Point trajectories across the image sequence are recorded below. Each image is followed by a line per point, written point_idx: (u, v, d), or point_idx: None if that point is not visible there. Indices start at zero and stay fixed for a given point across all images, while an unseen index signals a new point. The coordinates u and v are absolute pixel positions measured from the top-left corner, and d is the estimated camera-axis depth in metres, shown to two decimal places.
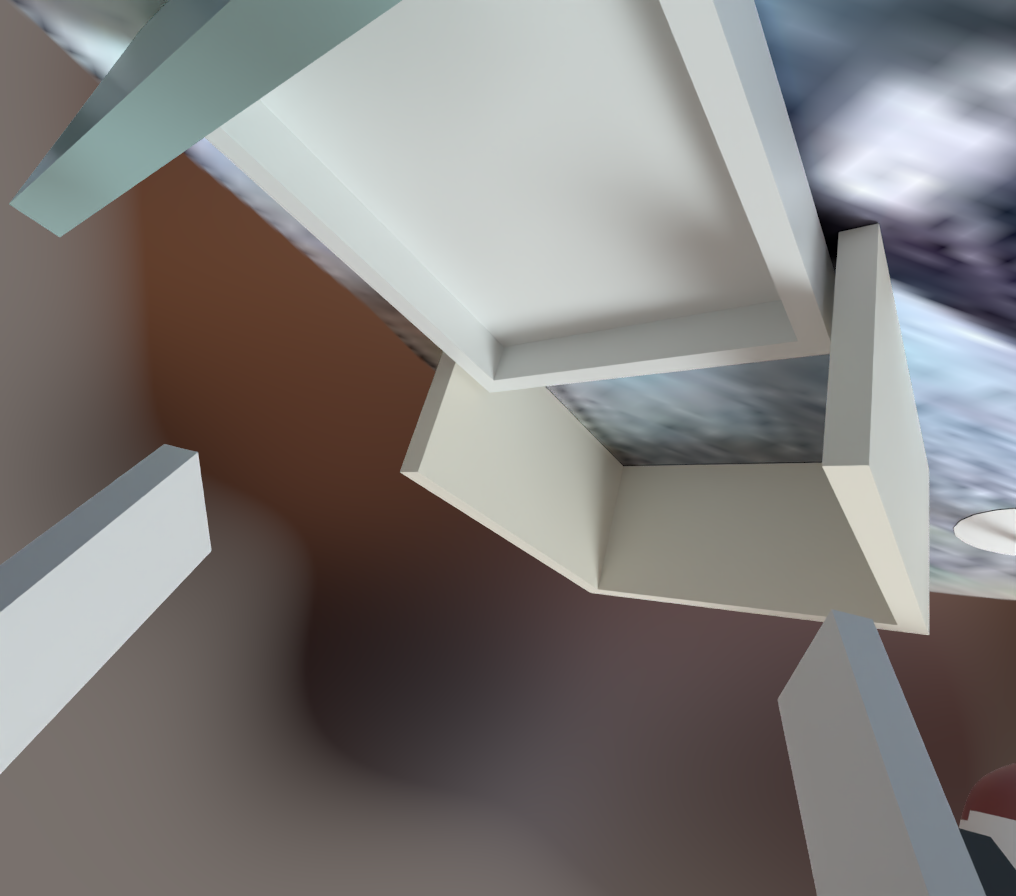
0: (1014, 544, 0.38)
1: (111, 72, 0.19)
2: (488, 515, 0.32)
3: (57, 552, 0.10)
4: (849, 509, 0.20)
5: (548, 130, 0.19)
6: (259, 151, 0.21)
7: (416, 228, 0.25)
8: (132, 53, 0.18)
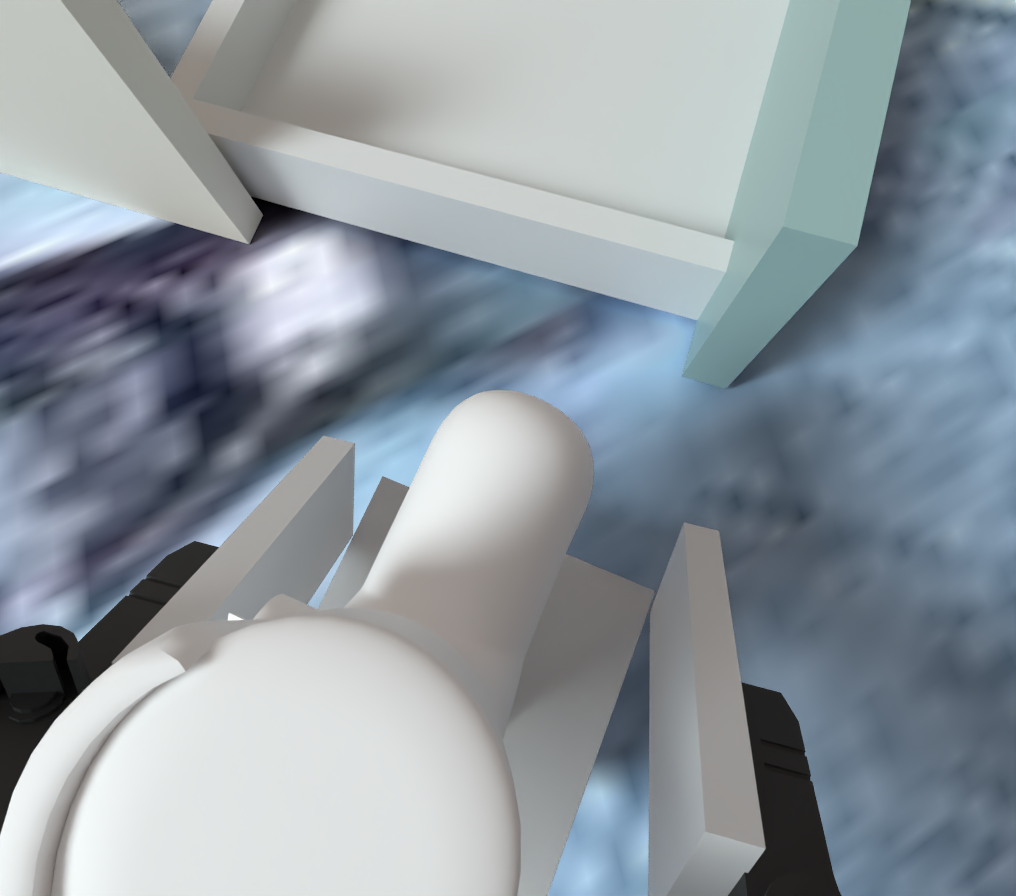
0: None
1: None
2: None
3: (267, 531, 0.11)
4: None
5: (547, 89, 0.21)
6: None
7: None
8: None
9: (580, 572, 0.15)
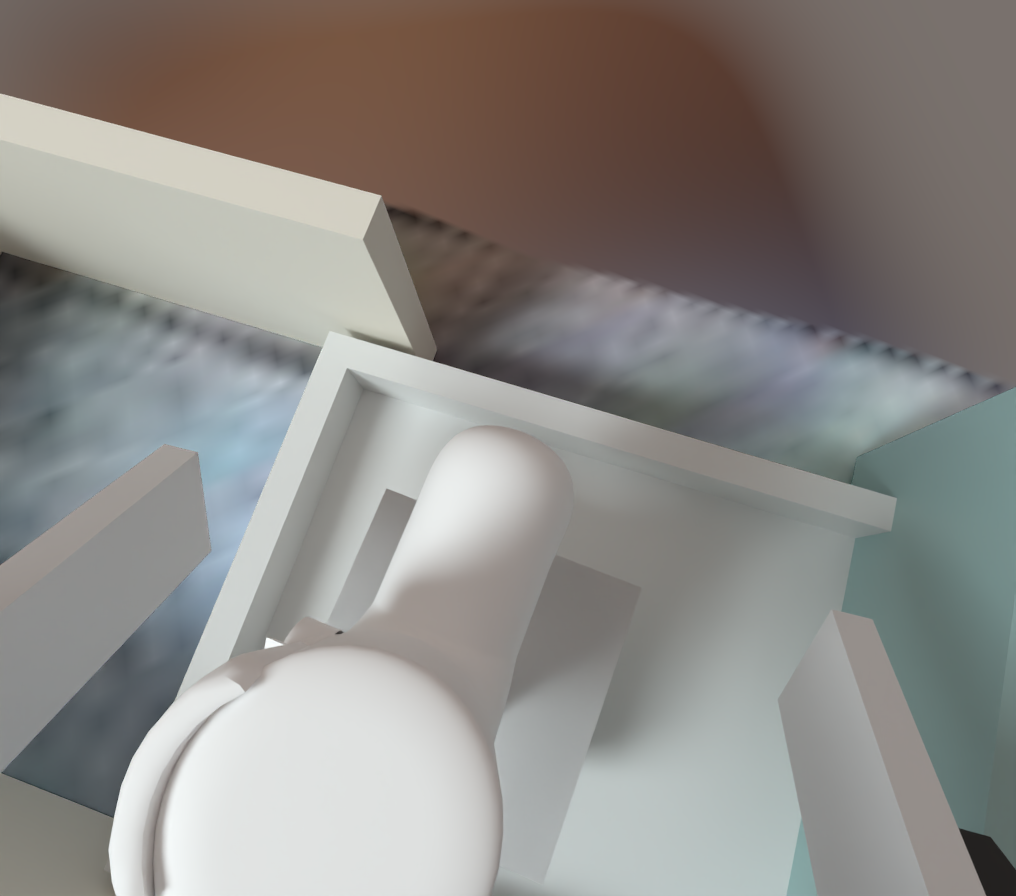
0: None
1: None
2: (149, 183, 0.15)
3: (57, 552, 0.10)
4: None
5: None
6: (789, 504, 0.18)
7: (579, 495, 0.20)
8: None
9: (572, 572, 0.16)
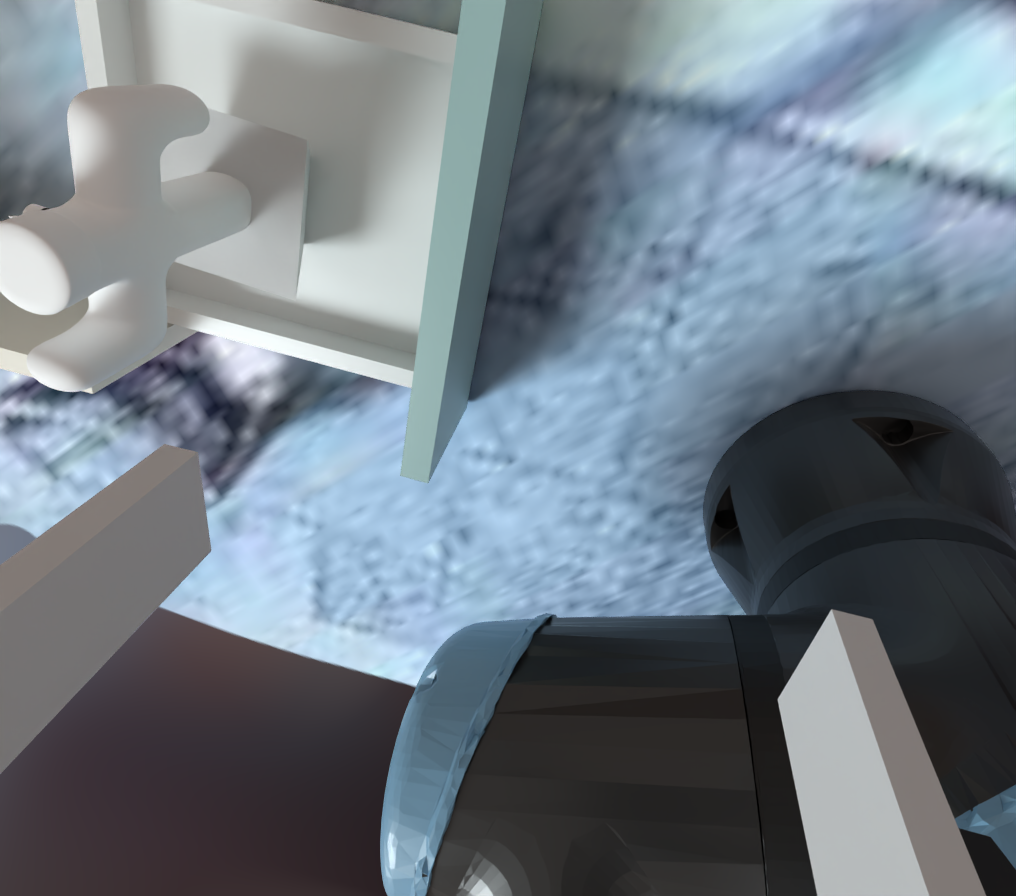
0: None
1: (528, 22, 0.24)
2: None
3: (57, 552, 0.10)
4: (25, 357, 0.29)
5: (329, 236, 0.32)
6: None
7: (300, 59, 0.28)
8: (516, 82, 0.25)
9: (266, 134, 0.26)
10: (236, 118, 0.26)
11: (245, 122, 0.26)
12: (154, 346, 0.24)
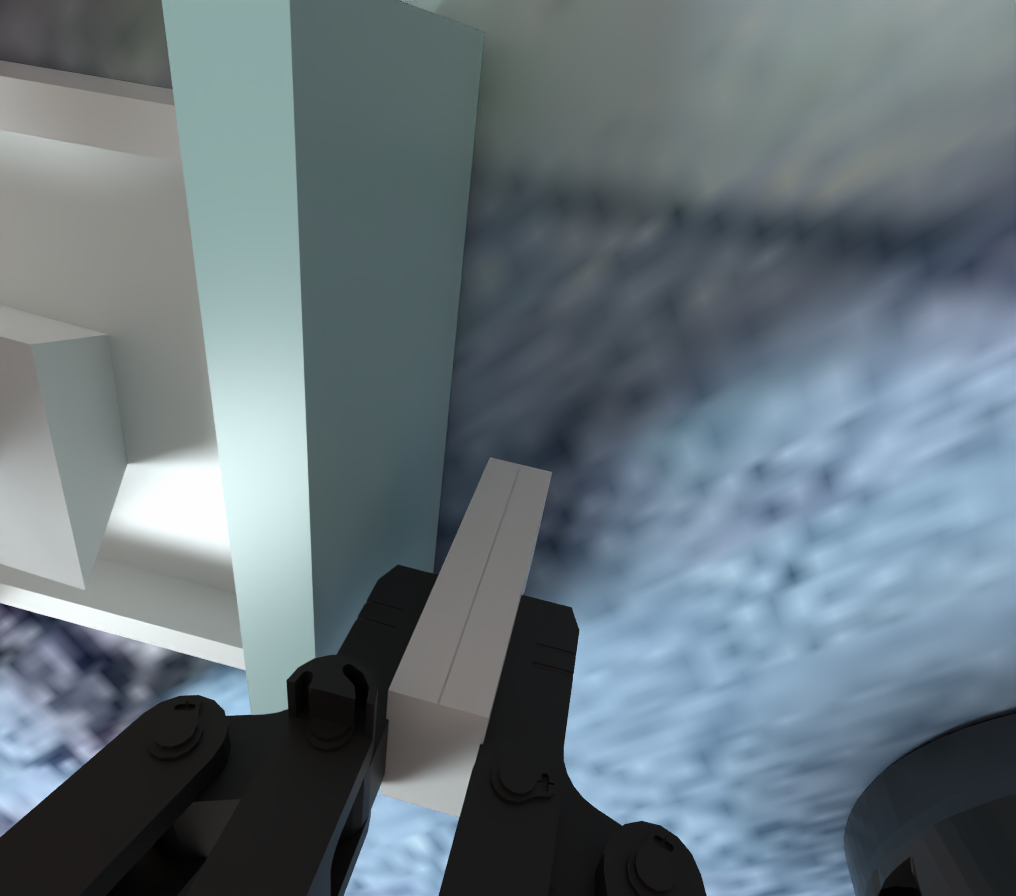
0: None
1: (439, 89, 0.11)
2: None
3: (477, 555, 0.11)
4: None
5: (164, 453, 0.19)
6: None
7: (55, 179, 0.15)
8: (424, 214, 0.12)
9: None
10: None
11: None
12: None
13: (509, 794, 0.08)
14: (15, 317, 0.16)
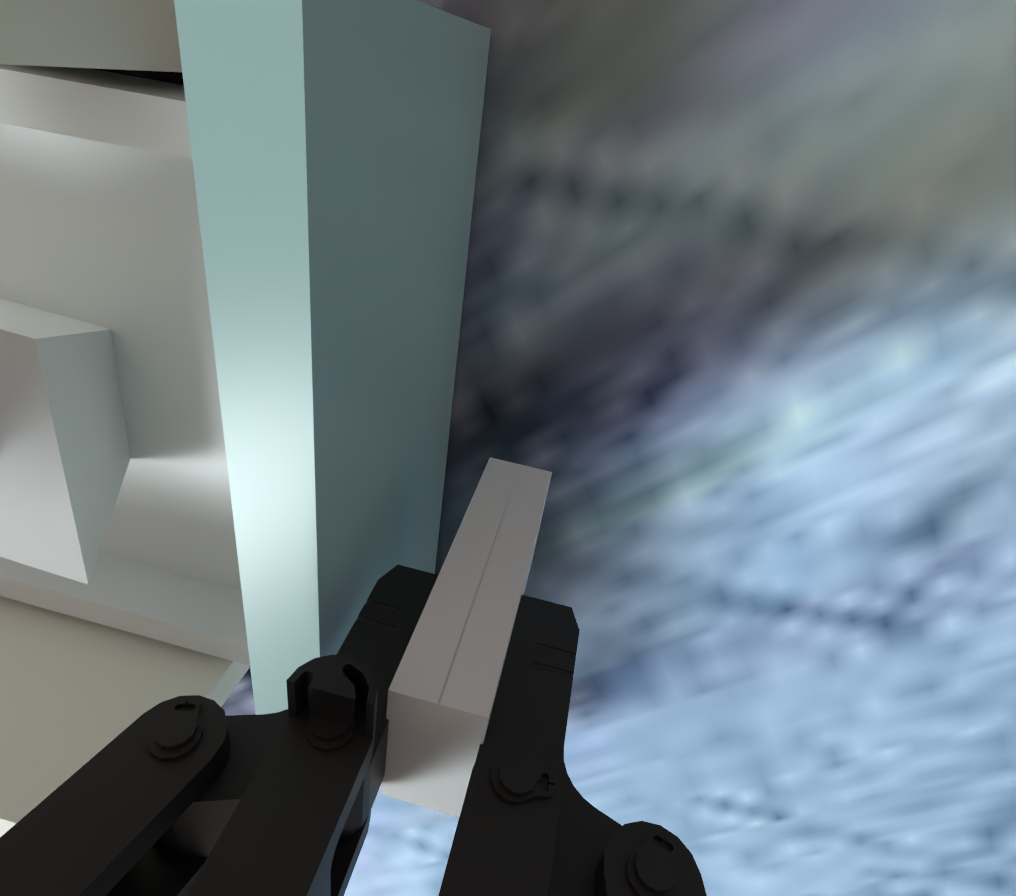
0: None
1: (446, 86, 0.11)
2: None
3: (477, 555, 0.11)
4: None
5: (167, 448, 0.19)
6: None
7: (60, 174, 0.15)
8: (431, 211, 0.12)
9: None
10: None
11: None
12: None
13: (509, 794, 0.08)
14: (19, 311, 0.16)
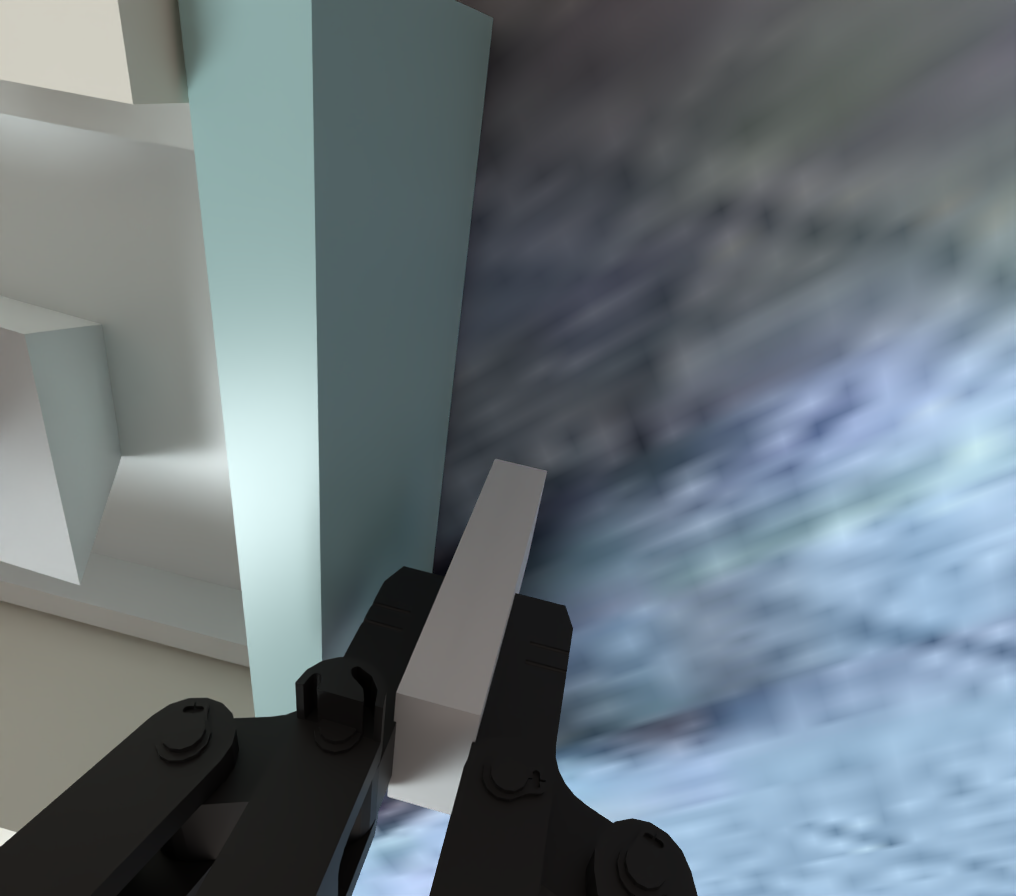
0: None
1: (450, 75, 0.11)
2: None
3: (483, 557, 0.11)
4: None
5: (159, 445, 0.18)
6: None
7: (48, 164, 0.15)
8: (433, 203, 0.11)
9: None
10: None
11: None
12: None
13: (500, 792, 0.08)
14: (6, 306, 0.15)
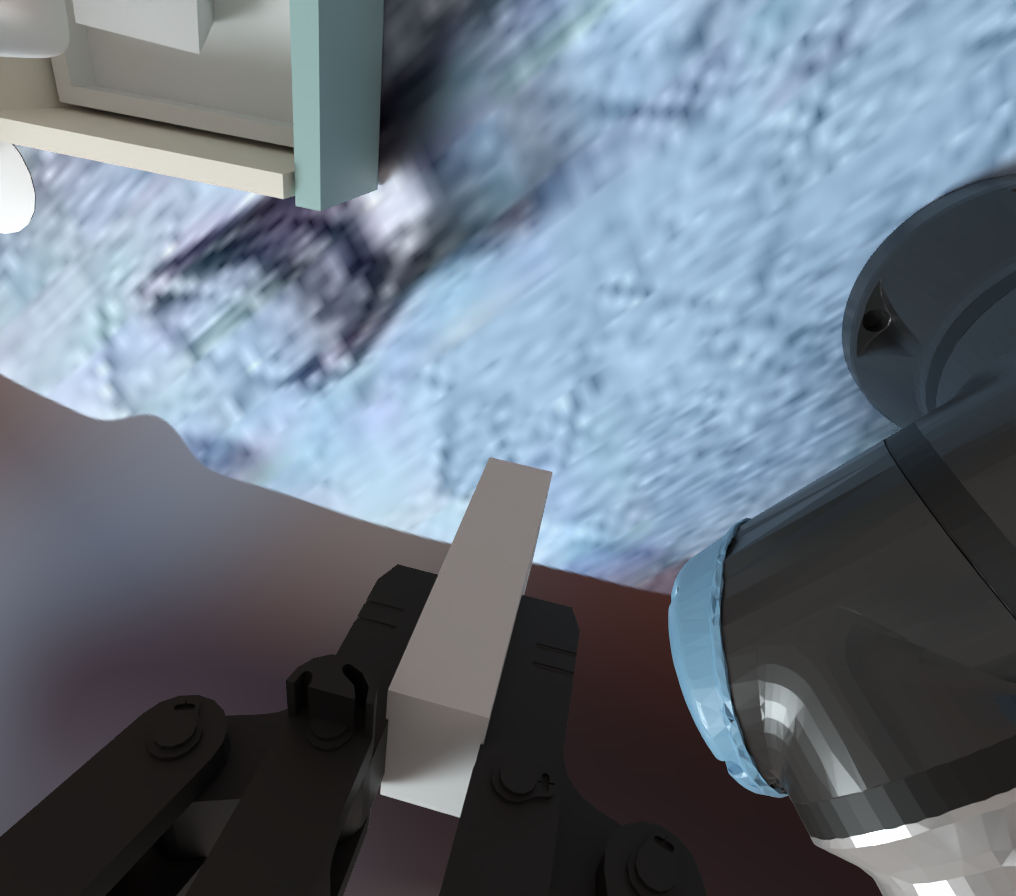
0: None
1: None
2: None
3: (476, 555, 0.11)
4: (223, 166, 0.32)
5: (235, 10, 0.35)
6: None
7: None
8: None
9: None
10: None
11: None
12: (54, 46, 0.28)
13: (509, 794, 0.08)
14: None
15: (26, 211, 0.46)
